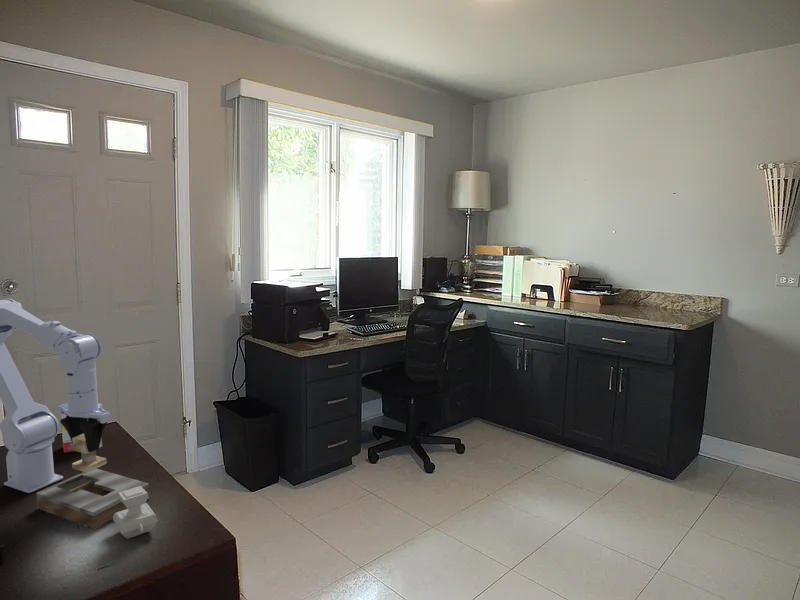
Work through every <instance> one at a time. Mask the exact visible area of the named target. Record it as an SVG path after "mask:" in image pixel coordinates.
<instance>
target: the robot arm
mask: <svg viewBox="0 0 800 600" xmlns="http://www.w3.org/2000/svg"><path fill="white" fill-rule="evenodd" d="M15 329H17V330H20V331H22V332H24V333H26V334H29V335H31V336H33V337H34V338H33V339H34V341H35V343H36V344H38V345H40V346H41V347H43V348H45V349H47V350H48V351H50V352H53V353H54V354H56V355H57V359H58V360H59V362H60V364H61V367H62V369H61V370H63V372H64V373H65V382H66V384H65V385H66V395H67V396H66V398H67V399H66V400H67V402H66V403H62V404H60V405H59V404H58V405H57V412H58V415H61V414H67V416H66V418H63V419H60V420H58V418H57V416H55V415H54V414H53V413H52V412H51V411H50V409H49V408H48V405H45V404H42V403H38V402H35V401H34V400H33V398H32V395H31V394H30V392H29V390H28V387H27V385H26V384H25V381H24V380H23V378H22V376H21V373H20V371H19V370H18V368H17V366H16V364H15V362H14V360H13V358H12V356H11V354H10V352H9V350H8V348H7V346H6V344H5V341H6V339H7V338H8V337H10V336H11V335H12V334H13V331H14V330H15ZM101 352H102V345H101V342H100V340H99V339H98V337H96V336H95V335H94V334H92V333H84V334H83V333H78V332H77V331H76V330H74V329H73V330H72V329H70V328H68V327H66V326H64V325H62V323H61V322H60V321H58V320H53V321H51V320H50V321H43V320H41V319H39V318H38V317H37V316H35V315H33V314H32V313H30V312H28V311H27V310H25V309H24V308H23V305H22V304H21V302H20V301H19V302H18V301H16V300H15V299H12V298H4V299H0V401H1V403H2V405H3V407H4V409H5V411H6V415H5V416H4V418H3V419H2V421H1V422H0V430H1V435H2V443H3V445H4V446H5V448H6V449H8V451H7V454H6V457H5V461H6V470H7V481H5V482H3V486H7V487H10V488H12V489H15V490H18V491H21V492H24V493H27V494H30V493H33V492H35V491H38V490H40V489H42V488H44V487H46V486H49V485H52V484H54V483H56V482H58V481H61V480H63V479H64V476H63V475H61V474H57V473H55V468H54V465H55V464H54V454H53V442H55V437H57V435H58V434H59V433H60V424H61V426H62V425H63V426H64V427H65V429H66V430H67V432H68V434H69V436H70V438H71V441H72V438H73V437H76V436H78V435H81V434H83V433H84V436H85V439H86V445H87V449H88V452H92V451H95V450H96V451H97V450H99V449H100V448H99V445H100V440H101V437H103V433H104V430H105V428H106V426H107V424H108V423H109V422H111V421H112V416H111V415H112V413H111V412H110V411H107V410H105V409H104V408H103V406H104V405H103V403H99V395H98V382H97V381H98V379H97V366H96V359H97V358H98V357H99V356H100V354H101ZM87 420H88V421H87ZM59 422H60V423H59ZM72 444H73V441H72Z"/></svg>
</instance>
